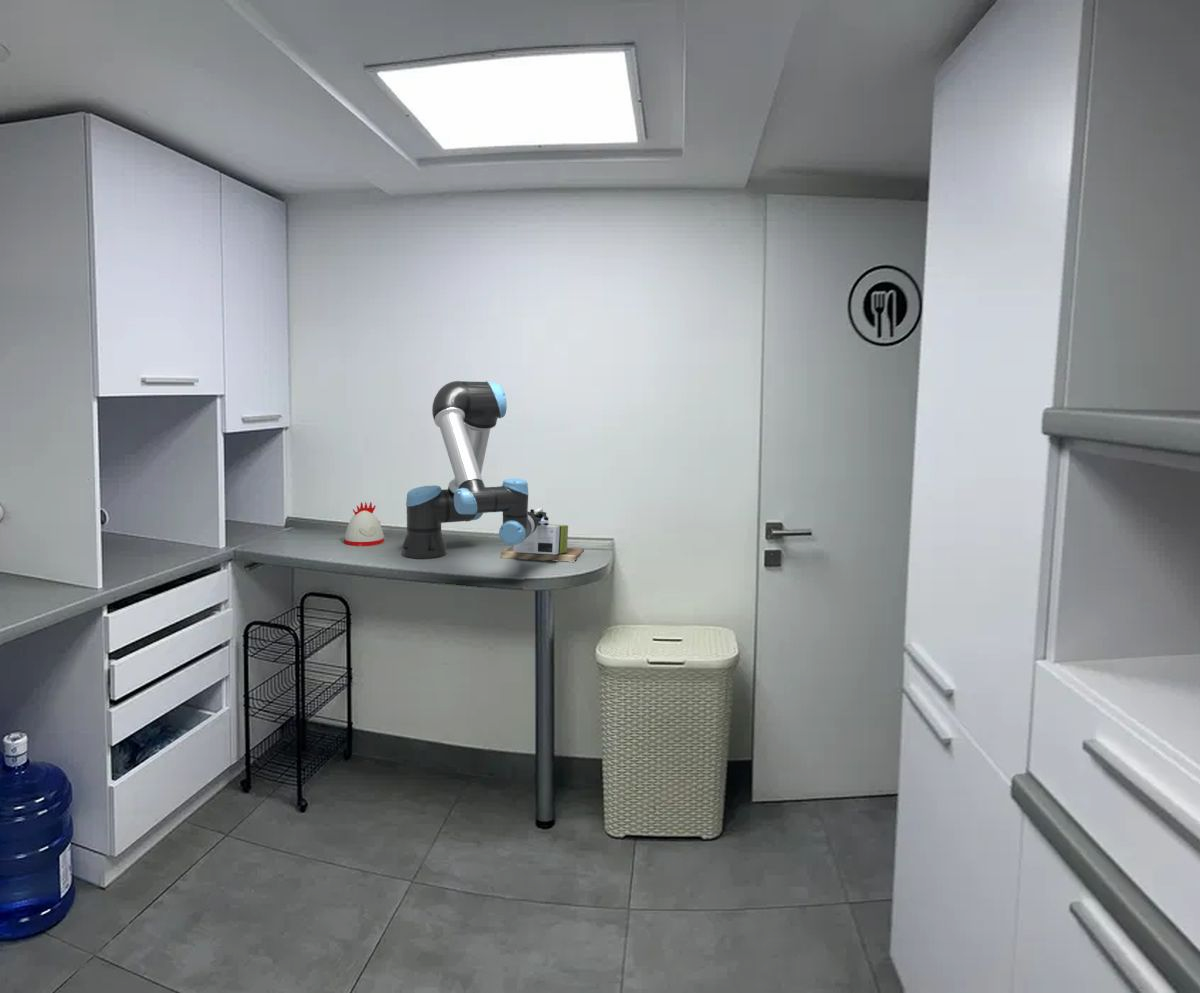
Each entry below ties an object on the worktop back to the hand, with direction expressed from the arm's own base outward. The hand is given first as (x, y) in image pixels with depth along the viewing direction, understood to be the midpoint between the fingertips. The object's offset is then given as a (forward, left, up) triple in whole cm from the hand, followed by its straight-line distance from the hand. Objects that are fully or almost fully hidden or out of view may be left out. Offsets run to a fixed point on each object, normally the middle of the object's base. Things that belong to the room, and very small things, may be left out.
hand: (540, 511), depth 261 cm
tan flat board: (0, +6, -16) cm, 17 cm away
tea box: (0, -8, -8) cm, 11 cm away
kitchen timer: (-68, +6, -16) cm, 70 cm away
